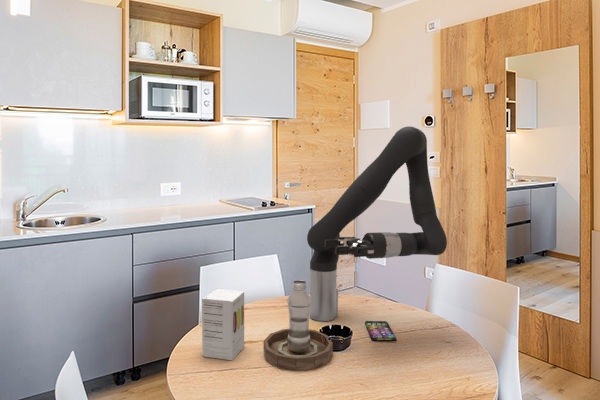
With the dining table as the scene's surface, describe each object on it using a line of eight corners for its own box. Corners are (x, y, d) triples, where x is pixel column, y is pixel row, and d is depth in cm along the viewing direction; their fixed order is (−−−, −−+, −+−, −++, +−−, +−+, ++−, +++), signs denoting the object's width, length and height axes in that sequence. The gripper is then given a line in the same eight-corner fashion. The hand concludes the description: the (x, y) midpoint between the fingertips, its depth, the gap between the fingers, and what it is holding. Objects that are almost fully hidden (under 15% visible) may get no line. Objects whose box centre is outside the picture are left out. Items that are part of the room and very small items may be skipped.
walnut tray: (300, 333, 135) (300, 323, 135) (345, 355, 122) (345, 343, 121) (250, 352, 123) (250, 340, 122) (294, 378, 109) (295, 365, 108)
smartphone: (387, 321, 145) (397, 340, 130) (387, 323, 145) (397, 343, 130) (364, 320, 145) (371, 340, 130) (364, 323, 145) (371, 343, 130)
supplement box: (232, 361, 117) (232, 301, 116) (201, 357, 120) (200, 298, 118) (245, 346, 127) (245, 290, 125) (216, 342, 129) (215, 287, 127)
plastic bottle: (308, 357, 118) (309, 286, 116) (284, 354, 120) (285, 284, 117) (312, 346, 125) (313, 279, 122) (289, 344, 126) (290, 277, 123)
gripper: (371, 228, 132) (322, 229, 128) (394, 237, 119) (340, 239, 114) (370, 251, 133) (321, 253, 129) (393, 264, 120) (339, 267, 115)
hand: (330, 247), depth 121 cm, fingers open, 8 cm apart
